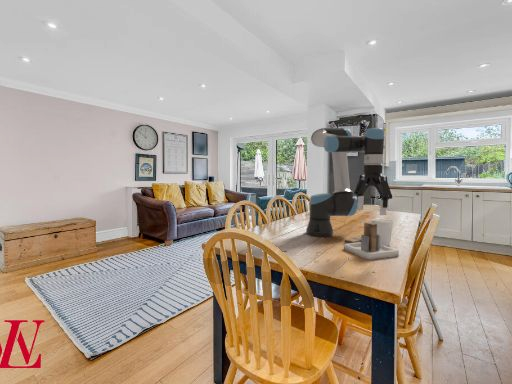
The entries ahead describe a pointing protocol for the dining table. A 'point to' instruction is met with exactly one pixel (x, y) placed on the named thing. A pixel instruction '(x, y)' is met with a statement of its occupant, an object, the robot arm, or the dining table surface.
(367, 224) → the brown rectangular block
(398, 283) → the dining table surface
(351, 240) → the wick
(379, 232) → the candle holder
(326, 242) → the dining table surface
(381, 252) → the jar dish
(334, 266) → the dining table surface
